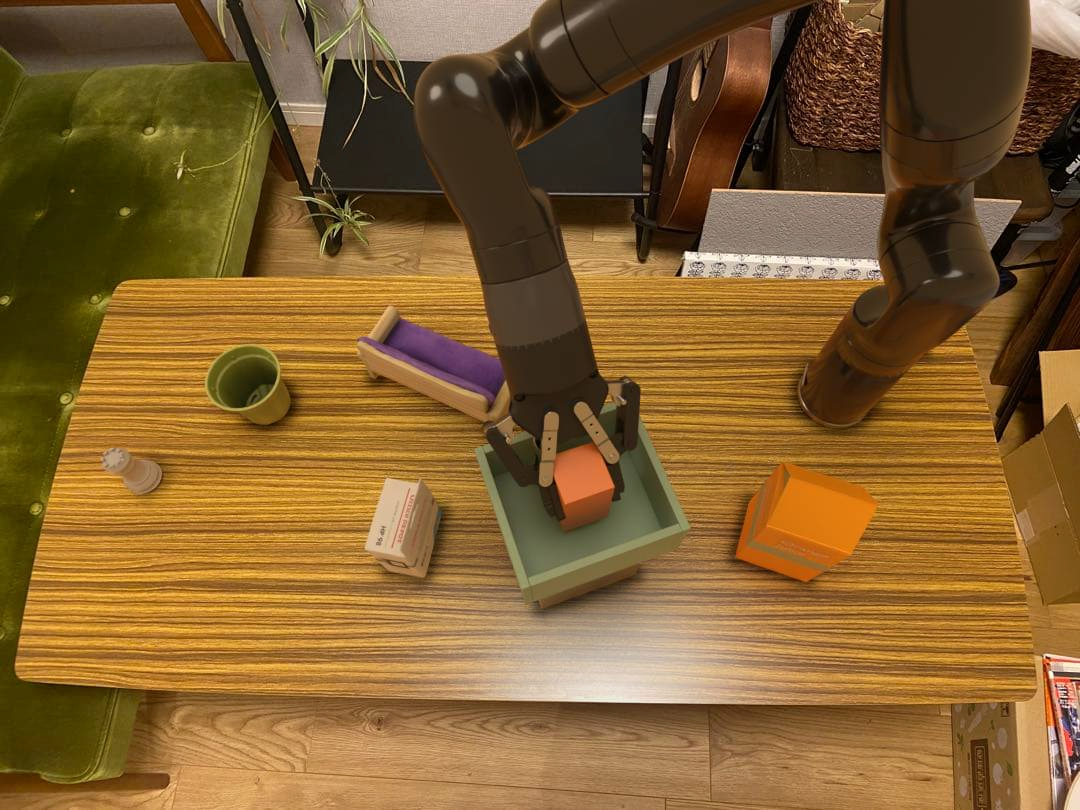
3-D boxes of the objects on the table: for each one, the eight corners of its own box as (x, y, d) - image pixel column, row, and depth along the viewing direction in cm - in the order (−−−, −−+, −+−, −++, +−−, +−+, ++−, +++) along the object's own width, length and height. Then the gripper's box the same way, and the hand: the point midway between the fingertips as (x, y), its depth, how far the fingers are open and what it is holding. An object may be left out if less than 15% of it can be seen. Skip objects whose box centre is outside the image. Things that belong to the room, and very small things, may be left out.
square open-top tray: (624, 428, 74) (630, 395, 67) (677, 549, 68) (691, 528, 61) (482, 476, 72) (473, 448, 65) (525, 604, 66) (521, 589, 59)
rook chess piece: (122, 479, 92) (85, 458, 85) (151, 456, 93) (116, 432, 86) (141, 502, 91) (105, 482, 83) (170, 477, 92) (137, 455, 85)
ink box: (406, 505, 89) (379, 465, 76) (443, 512, 89) (423, 473, 76) (386, 571, 86) (355, 542, 73) (425, 579, 85) (400, 551, 72)
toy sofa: (529, 385, 96) (526, 348, 87) (500, 438, 93) (494, 406, 84) (398, 328, 101) (382, 288, 91) (366, 377, 97) (346, 340, 88)
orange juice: (806, 583, 84) (874, 543, 66) (733, 558, 86) (780, 511, 68) (819, 523, 87) (887, 468, 69) (748, 500, 89) (797, 440, 71)
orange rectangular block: (591, 474, 69) (595, 440, 61) (608, 516, 67) (615, 487, 59) (547, 489, 68) (546, 456, 60) (563, 532, 66) (564, 505, 58)
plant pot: (283, 445, 93) (258, 419, 85) (221, 425, 95) (190, 398, 87) (314, 385, 97) (293, 355, 89) (254, 367, 98) (228, 335, 91)
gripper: (458, 364, 52) (519, 555, 58) (638, 306, 53) (678, 498, 60) (447, 341, 59) (503, 514, 65) (607, 291, 60) (646, 464, 66)
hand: (587, 505), depth 62 cm, fingers closed on orange rectangular block, 4 cm apart
